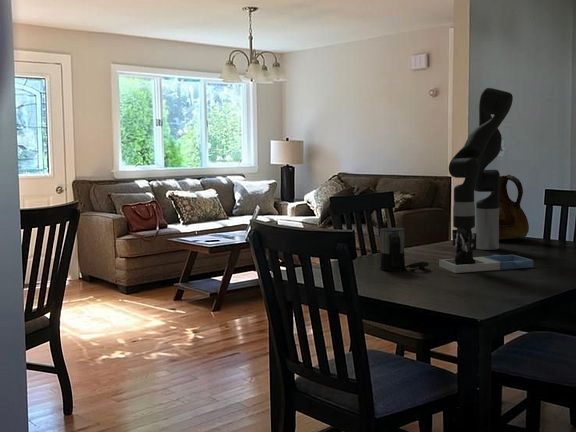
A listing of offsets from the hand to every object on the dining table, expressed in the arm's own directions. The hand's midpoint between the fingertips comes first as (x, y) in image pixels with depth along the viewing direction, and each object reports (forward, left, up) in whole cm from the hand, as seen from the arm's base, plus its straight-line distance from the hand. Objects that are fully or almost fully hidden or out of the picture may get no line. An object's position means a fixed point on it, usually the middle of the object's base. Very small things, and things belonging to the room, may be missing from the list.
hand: (464, 260), depth 234 cm
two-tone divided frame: (0, +9, -3) cm, 9 cm away
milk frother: (-6, -20, -3) cm, 22 cm away
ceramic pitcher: (-57, +50, -3) cm, 76 cm away
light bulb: (+1, +1, -3) cm, 3 cm away
